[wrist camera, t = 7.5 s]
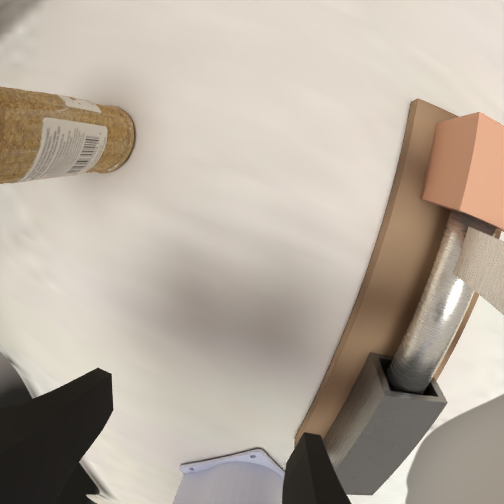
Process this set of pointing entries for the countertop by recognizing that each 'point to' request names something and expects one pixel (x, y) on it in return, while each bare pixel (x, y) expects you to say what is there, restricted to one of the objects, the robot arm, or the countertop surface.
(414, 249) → the walnut board
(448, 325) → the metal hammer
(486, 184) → the socket
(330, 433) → the sleeve
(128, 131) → the sprinkles bottle
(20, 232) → the countertop surface
